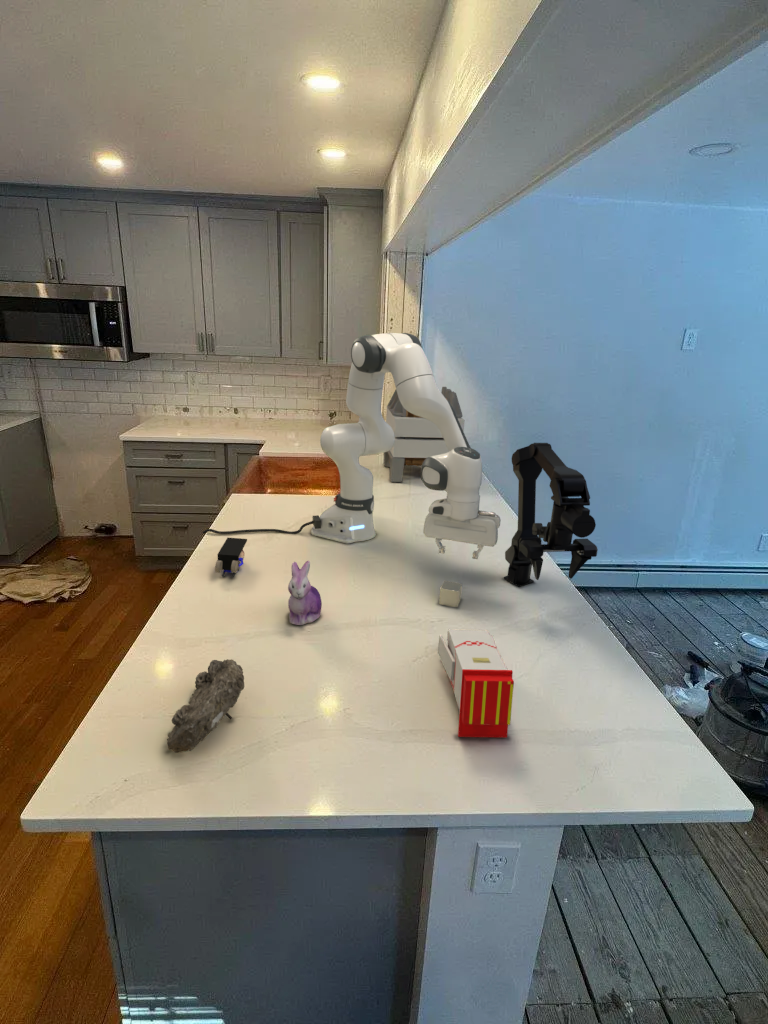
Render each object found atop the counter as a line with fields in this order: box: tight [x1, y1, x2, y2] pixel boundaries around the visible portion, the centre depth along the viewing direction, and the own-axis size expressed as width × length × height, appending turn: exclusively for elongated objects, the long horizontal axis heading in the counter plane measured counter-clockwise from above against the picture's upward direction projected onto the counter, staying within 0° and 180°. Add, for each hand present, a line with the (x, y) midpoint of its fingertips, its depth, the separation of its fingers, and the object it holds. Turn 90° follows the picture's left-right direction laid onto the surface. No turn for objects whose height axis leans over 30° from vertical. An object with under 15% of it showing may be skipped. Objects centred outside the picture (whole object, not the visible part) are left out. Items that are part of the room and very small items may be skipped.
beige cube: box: [438, 580, 463, 609], centre depth 154 cm, size 5×5×5 cm
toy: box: [437, 628, 515, 738], centre depth 117 cm, size 12×13×30 cm
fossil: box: [166, 658, 245, 754], centre depth 106 cm, size 22×10×15 cm
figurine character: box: [214, 537, 248, 578], centre depth 166 cm, size 7×8×15 cm
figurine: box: [287, 560, 323, 626], centre depth 141 cm, size 9×10×15 cm
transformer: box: [383, 386, 465, 483], centre depth 268 cm, size 34×33×41 cm
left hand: (458, 555), depth 157 cm, fingers open, 8 cm apart
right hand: (553, 578), depth 146 cm, fingers open, 9 cm apart
